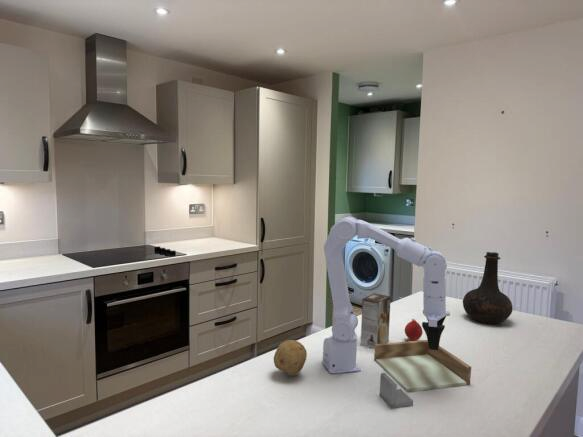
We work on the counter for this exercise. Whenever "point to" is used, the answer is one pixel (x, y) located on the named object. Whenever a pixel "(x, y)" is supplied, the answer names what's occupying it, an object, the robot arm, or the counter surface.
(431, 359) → the arena
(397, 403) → the bracket
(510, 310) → the glass bottle
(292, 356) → the potato
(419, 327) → the red round fruit
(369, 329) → the coffee box
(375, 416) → the counter surface
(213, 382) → the counter surface
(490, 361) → the counter surface
